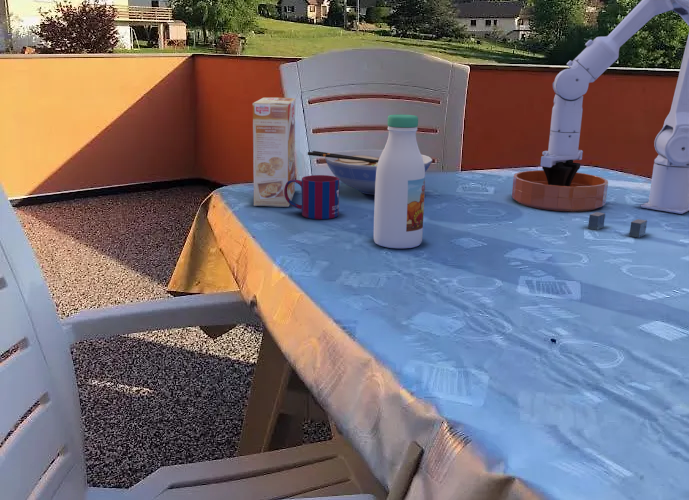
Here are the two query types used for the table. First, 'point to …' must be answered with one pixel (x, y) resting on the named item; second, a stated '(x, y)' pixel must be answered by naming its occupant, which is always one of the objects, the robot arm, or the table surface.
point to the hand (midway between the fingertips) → (557, 198)
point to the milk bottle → (400, 186)
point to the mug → (317, 196)
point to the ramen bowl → (357, 167)
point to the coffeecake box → (273, 150)
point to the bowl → (559, 192)
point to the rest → (635, 230)
